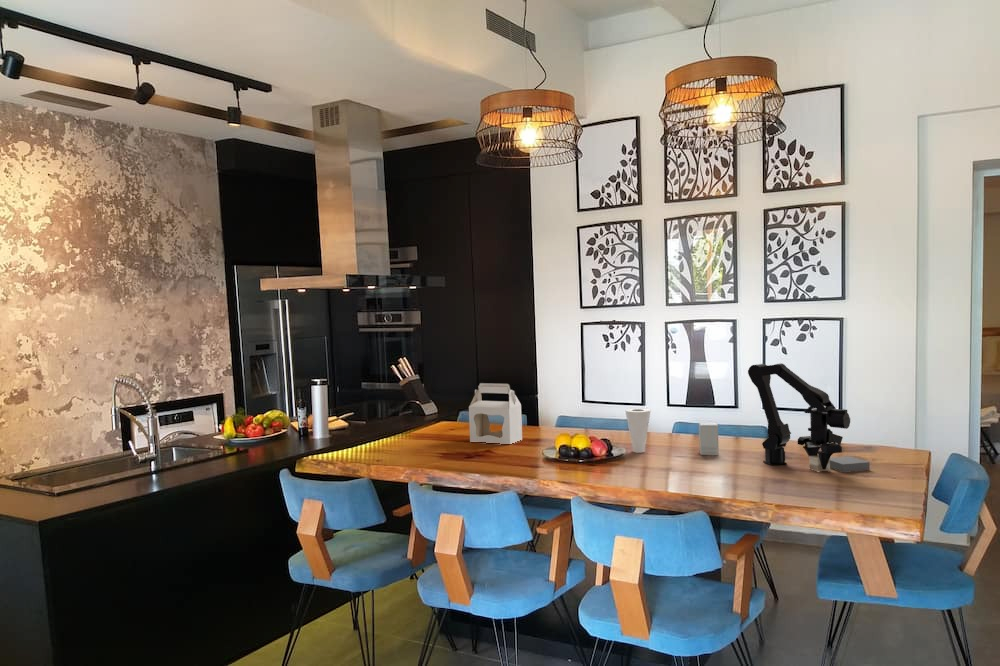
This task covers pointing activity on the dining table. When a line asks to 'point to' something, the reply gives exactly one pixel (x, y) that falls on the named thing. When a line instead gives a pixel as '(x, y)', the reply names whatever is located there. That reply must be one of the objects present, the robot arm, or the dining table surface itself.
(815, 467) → the cube
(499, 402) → the gable box
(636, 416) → the cup
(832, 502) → the dining table surface
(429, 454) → the dining table surface
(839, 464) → the base
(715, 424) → the supplement box
